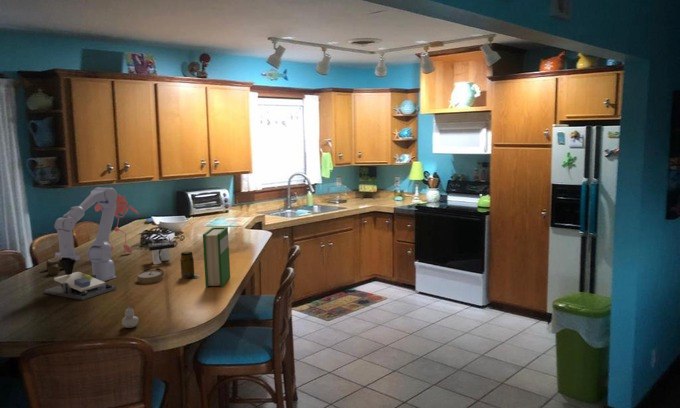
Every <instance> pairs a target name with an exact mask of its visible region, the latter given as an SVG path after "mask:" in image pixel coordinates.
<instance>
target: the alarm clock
mask: <svg viewBox="0 0 680 408" xmlns="http://www.w3.org/2000/svg"><path fill="white" fill-rule="evenodd" d="M164 273H165V271H164V270H163V269H162V268H161V267H157V268H156V269H150V268H144V269H143V270H142V271H140V272H138V273H137V274H136V277H137V283H138V284H144V285H145V284H154V283H155V284H156V283H159V282H161V281H162V280H163V276H164Z"/></svg>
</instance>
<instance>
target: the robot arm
mask: <svg viewBox="0 0 680 408" xmlns="http://www.w3.org/2000/svg"><path fill="white" fill-rule="evenodd" d="M118 194H119V193H118V192H117V191H116V189H115V188H113V187H99V186H97V187H95V188H94V189H92V190H91V191H90V194H89V195H88V196H87V197H86V198H85V199H84V200H83V201H82V202H81V203H80V204H79V205H75V206H72V207H70V210H68V211H67V212H66V213H64V214H63V216H62V217H58V218H56V220H55V223H54V224H53V227H54V229H55V230H56V233H57V238H58V246H59V247H58V249H59V252H55V253H54V258H56V259H57V258H58V261H59V262H60V263H61V264H62V266H63V268H62V269H63V270H64V273H65V275H70V274H72V273H73V270H74V266H75V263H76V262H77V261H79V260H81V255H80V254H77V253H75V247H74V246H75V244H74V234H73V230H74V229H75V227H76V224H77V222H78V221H80V220H81V219H82V218H83V217H84V216H85V212H86V211H87V210H88V209H89V208H91V207H92V206H94V204H95V205H96V203H97V204H101V205H102V210H103V213H102V212H101V217H100V221H99V226H98V228H97V229H98V230H97V234H96V237H95V238H96V239H95V240H94V241H93V242H92V243H91V244H90V246H89V248H88V250H87V253H86V255H87V258H88V259H89V261H90V262H91V269H92V270H91V271H92V275H96V279H98V280H101V281H103V282H106V281H108V280H109V281H110V280H112V279H116V278H117V276H116V270H115V267H116V266H115V263H114V261H113V260H112V259H111V258H112V252H111V245H112V244H110V235H111V233H112V229H113V228H112V227H113V223H114V220H115V216H114V215H115V211H116V200H117V196H118ZM110 232H111V233H110ZM108 241H109V242H108Z"/></svg>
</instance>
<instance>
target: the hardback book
mask: <svg viewBox="0 0 680 408" xmlns="http://www.w3.org/2000/svg"><path fill="white" fill-rule="evenodd" d="M202 240H203V241H202V244H203V245H202V246H203V261H204V262H203V264H204V277H205V279H204V280H205V288H207V289H208V288H209V287H211V286H212V287H215V286H216V287H217V286H220V288H224V286H225V284H226V283H227V282H228V281H229V280H230V278H231V266H230V265H231V263H230V246H229V245H230V242H229V241H230V240H229V228H228V226H223V227H222V226H221V227H220V226H219V227H217V226H216V227H211V228H209V229H208V230H207V231H205V232H204V233H202Z"/></svg>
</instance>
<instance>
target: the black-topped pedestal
mask: <svg viewBox="0 0 680 408" xmlns="http://www.w3.org/2000/svg"><path fill="white" fill-rule="evenodd" d="M147 247H148V250H149V251H151V252H152V253H151V255H152V263H153V265H154V266H155V265H158V264H162V262H164V261H170V260H171V258H170V255H171V254H170V249H173V248H175V243H174V241H171V238H170V237H168V241H165V239H164V238H162V239H161V238H160V239H158V240H156V241H154V242H151V243H147Z"/></svg>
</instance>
